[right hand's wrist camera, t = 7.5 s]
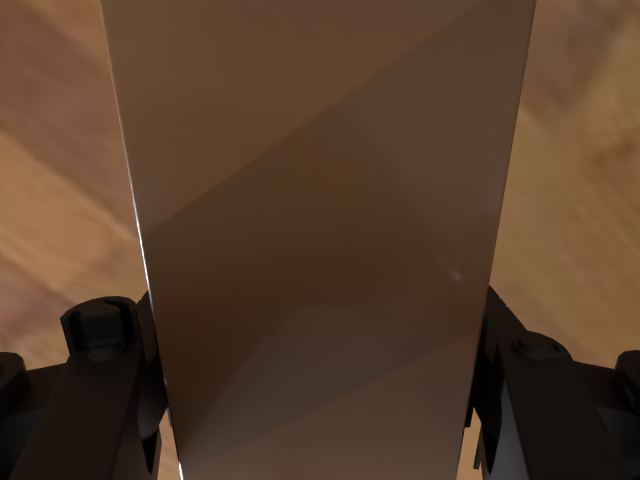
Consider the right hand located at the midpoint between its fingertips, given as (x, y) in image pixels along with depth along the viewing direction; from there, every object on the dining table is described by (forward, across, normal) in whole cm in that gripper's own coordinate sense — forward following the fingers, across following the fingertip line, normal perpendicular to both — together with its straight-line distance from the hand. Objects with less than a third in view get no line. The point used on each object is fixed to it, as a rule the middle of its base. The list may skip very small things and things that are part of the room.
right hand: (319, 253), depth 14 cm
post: (0, 0, -29) cm, 29 cm away
